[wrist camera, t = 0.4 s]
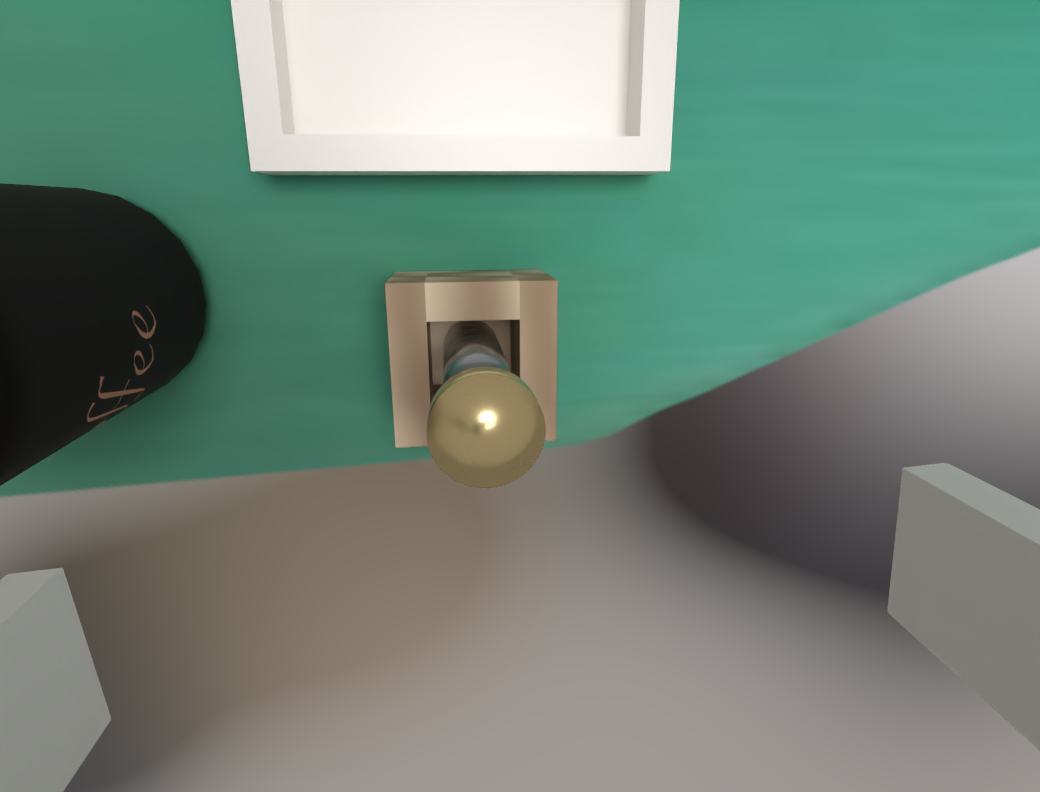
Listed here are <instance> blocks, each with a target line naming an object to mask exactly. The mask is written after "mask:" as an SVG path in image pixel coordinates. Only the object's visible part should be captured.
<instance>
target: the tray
mask: <svg viewBox="0 0 1040 792" xmlns="http://www.w3.org/2000/svg"><path fill="white" fill-rule="evenodd" d="M231 6H232V15H233V23H234V31H235V40H236V48H237V57H238V65H239V74H240V82H241V91H242V99H243V107H244V116H245V124H246V133H247V141H248V150H249V158H250V167H251V171H253V172H258V173H263V174H267V175H651V174H657V173H662V172H668V171H670V159H671V141H672V123H673V106H674V88H675V70H676V52H677V35H678V17H679V0H231Z"/></svg>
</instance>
